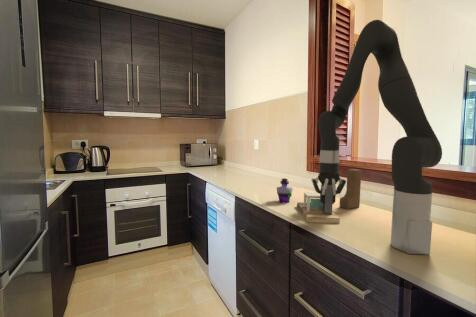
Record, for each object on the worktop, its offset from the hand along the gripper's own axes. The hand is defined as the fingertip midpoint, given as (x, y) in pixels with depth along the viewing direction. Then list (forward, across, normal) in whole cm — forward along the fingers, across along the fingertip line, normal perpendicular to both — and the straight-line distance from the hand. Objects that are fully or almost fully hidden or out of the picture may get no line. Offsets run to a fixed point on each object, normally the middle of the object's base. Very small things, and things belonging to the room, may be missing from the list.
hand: (327, 203), depth 101 cm
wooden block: (+6, +16, +18) cm, 25 cm away
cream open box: (+4, -3, +6) cm, 8 cm away
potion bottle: (+6, -14, +26) cm, 30 cm away
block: (+4, -3, +6) cm, 8 cm away
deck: (+6, -3, +5) cm, 9 cm away
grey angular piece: (+4, -2, +4) cm, 6 cm away
